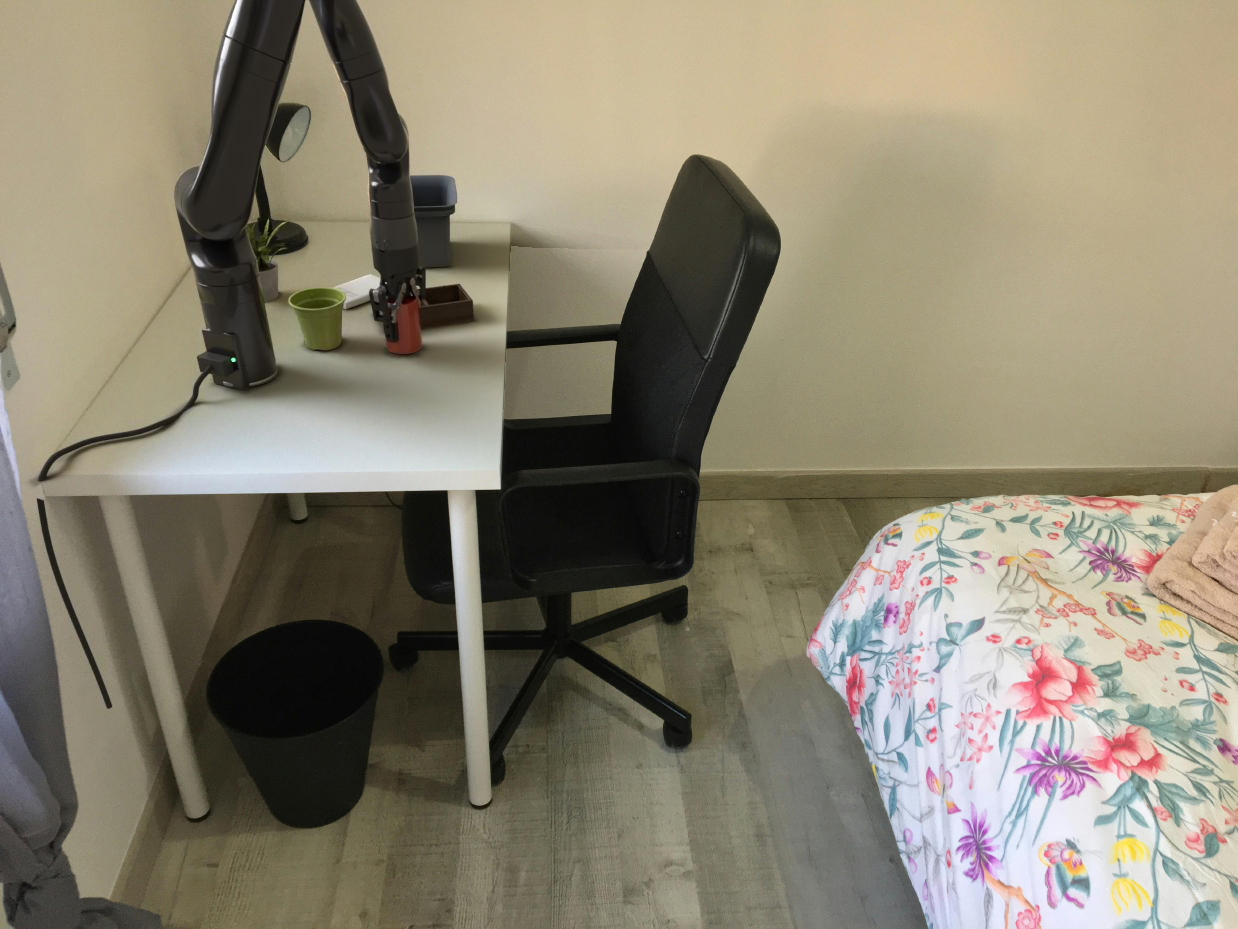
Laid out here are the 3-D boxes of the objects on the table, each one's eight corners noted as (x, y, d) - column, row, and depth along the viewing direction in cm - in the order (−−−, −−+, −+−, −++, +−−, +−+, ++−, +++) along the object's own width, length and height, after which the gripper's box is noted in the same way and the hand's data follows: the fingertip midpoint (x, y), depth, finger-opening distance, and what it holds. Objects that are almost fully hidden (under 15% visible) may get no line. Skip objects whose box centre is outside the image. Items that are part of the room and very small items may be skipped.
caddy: (474, 320, 170) (472, 300, 168) (384, 333, 164) (381, 312, 162) (460, 303, 177) (459, 283, 174) (374, 315, 170) (371, 294, 168)
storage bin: (462, 271, 190) (458, 204, 183) (386, 274, 188) (379, 205, 180) (458, 237, 208) (454, 174, 200) (388, 239, 205) (382, 175, 197)
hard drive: (397, 291, 180) (346, 310, 172) (369, 281, 184) (319, 298, 176) (396, 283, 179) (345, 302, 171) (369, 273, 183) (318, 290, 175)
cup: (410, 356, 155) (405, 307, 150) (380, 349, 157) (374, 301, 152) (428, 343, 160) (424, 295, 155) (399, 336, 162) (394, 289, 157)
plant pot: (362, 344, 160) (356, 298, 155) (314, 360, 154) (307, 313, 149) (333, 328, 165) (326, 282, 160) (285, 343, 159) (277, 296, 154)
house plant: (201, 304, 171) (182, 219, 162) (245, 278, 183) (229, 198, 174) (268, 315, 168) (252, 229, 160) (309, 288, 180) (296, 207, 171)
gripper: (398, 223, 155) (406, 315, 164) (349, 249, 143) (360, 346, 153) (437, 230, 153) (443, 322, 162) (389, 257, 141) (399, 354, 150)
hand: (403, 333), depth 157 cm, fingers closed on cup, 6 cm apart
